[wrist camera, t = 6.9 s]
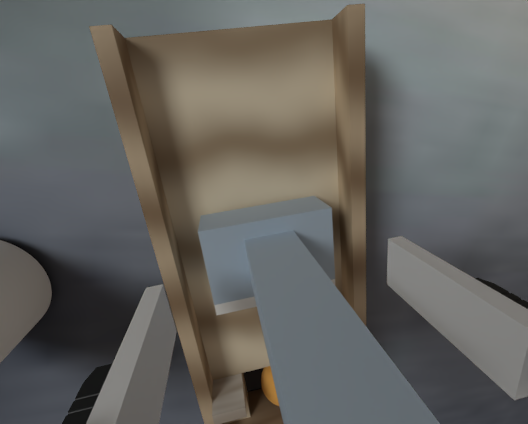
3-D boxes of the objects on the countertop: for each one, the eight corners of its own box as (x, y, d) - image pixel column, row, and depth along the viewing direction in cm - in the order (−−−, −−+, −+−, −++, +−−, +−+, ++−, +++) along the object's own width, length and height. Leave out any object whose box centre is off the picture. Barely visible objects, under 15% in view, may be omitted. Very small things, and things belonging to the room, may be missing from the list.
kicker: (200, 215, 18) (141, 549, 4) (314, 195, 19) (612, 399, 5) (216, 288, 20) (217, 698, 6) (319, 267, 21) (543, 567, 6)
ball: (259, 375, 23) (268, 423, 22) (304, 364, 23) (313, 410, 23) (255, 353, 26) (262, 393, 26) (294, 344, 27) (301, 383, 27)
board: (121, 52, 17) (73, 13, 11) (330, 32, 18) (381, -11, 13) (215, 407, 27) (214, 481, 21) (344, 373, 29) (375, 433, 23)
